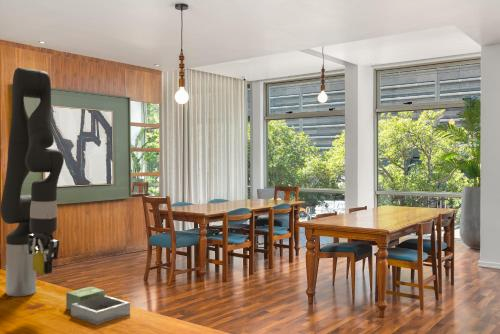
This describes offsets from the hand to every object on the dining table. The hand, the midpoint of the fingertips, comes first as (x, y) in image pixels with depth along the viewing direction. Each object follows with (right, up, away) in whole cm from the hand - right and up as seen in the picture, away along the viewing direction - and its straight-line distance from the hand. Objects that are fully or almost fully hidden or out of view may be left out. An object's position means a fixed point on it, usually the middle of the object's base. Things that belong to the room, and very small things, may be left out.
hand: (42, 271), depth 153 cm
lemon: (0, -2, 0) cm, 2 cm away
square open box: (+15, -13, +1) cm, 19 cm away
